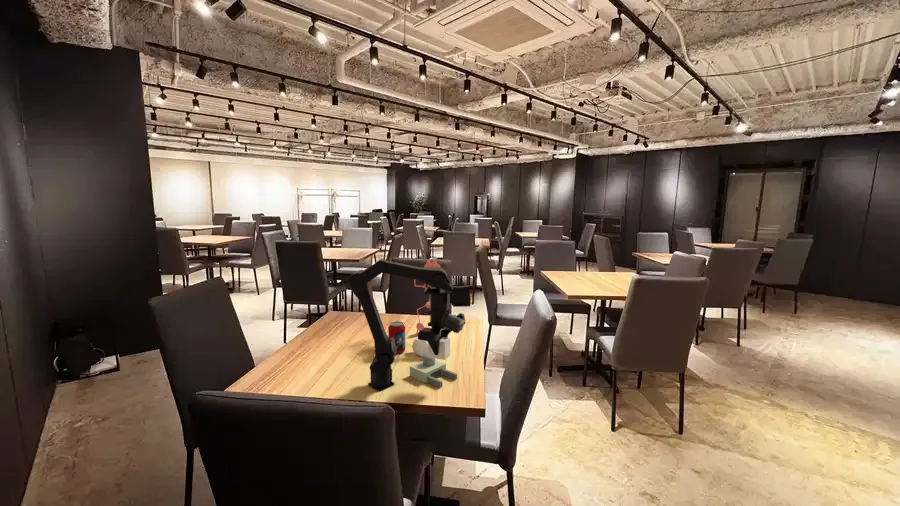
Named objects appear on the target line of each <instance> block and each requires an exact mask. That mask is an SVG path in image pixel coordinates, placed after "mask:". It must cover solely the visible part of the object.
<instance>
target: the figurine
mask: <svg viewBox="0 0 900 506" xmlns="http://www.w3.org/2000/svg"><path fill="white" fill-rule="evenodd" d="M423 267H440V268H441V264H439V263H437V260H433V261H432V262H431V260H430V259H427V260H426V264H424V266H423ZM413 280H414V281H413V282H414V287H419V288H423V289H427V288H428V286H429V285H427V284H425V283H423V284H424V285H416V284H417V283H416V281H417V280H415V279H413ZM426 285H427V287H426ZM430 287H432V286H430ZM433 288H435V287H433ZM424 307H426V308H427V309H430V297H429V299H428V301H427V302H426V303H425V305H423V306H421V307H419V308H417V309H416V313H417V317H418V322H417V323H416V326H415V327H416V333H415V335H414V336H415V337H418V332H419V331H420V330H421V329H423V328H425V325H424V324H423V323H422V322H421V321H420V320H421V319H420V315H419V310H421V309H423V308H424Z"/></svg>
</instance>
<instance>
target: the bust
mask: <svg viewBox="0 0 900 506" xmlns="http://www.w3.org/2000/svg"><path fill="white" fill-rule="evenodd" d="M421 330H422V329H421ZM411 348H412V351H413V352H414V353H415V354H416V356H419V357H421V358H423V355H425V354H429V348H428V342H427V341H424V340H418V337H416V338H414V339H413V341H412V344H411Z"/></svg>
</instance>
